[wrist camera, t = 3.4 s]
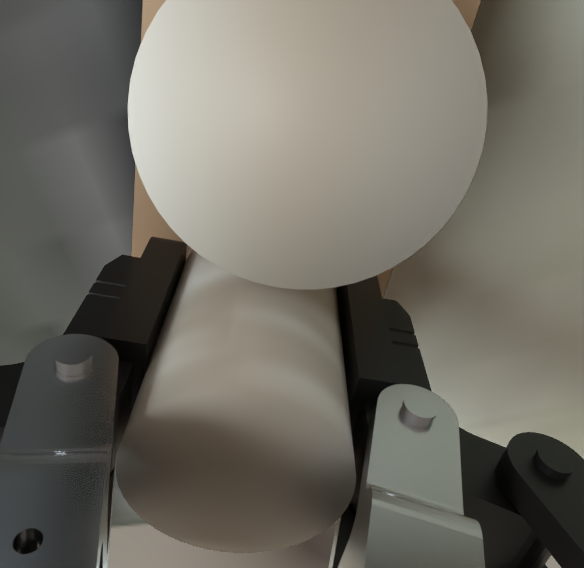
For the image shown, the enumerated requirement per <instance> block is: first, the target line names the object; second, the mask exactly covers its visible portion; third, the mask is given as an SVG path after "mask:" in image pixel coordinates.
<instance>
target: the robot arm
mask: <svg viewBox="0 0 584 568" xmlns="http://www.w3.org/2000/svg"><path fill="white" fill-rule="evenodd" d="M186 252H187V244H186V243H185V242H182V241H176V240H170V239H165V238H159V237H153V236H152V237H151V238H150V240H149V242H148V244H147V246H146V248H145V250H144V252H143V254H142V256H141V258H139V257H133V256H127V255H121V256H120V257H118V258H116V259H115V260H113V261H111V262H110V263H108V264H106V265H105V266H104V268H103V269H102V271H101V273H100V274H99V276H98V278H97V279H96V283H94V284H93V286H92V288H91V289H90V291H89V294H88V295H87V296H86V298H85V299H84V301H83V302H82V304H81V306H80V307H79V309H78V311H77V312H76V314H75V316H74V317H73V319H72V321H71V322H70V324H69V326H68V327H67V329H66V331H65V332H64V334H63V335H61V336H56V337H53V338H50V339H47V340H45V341H43V342H41V343H40V344H38V345H37V346H35V347H34V348H33V349H32V350H31V351H30V353H29V354H28V355H27V358H26V360H25V362H22V363H18V364H12V365H4V366H0V568H107V567H108V554H109V543H110V530H111V519H112V506H113V494H114V482H115V462H116V455H117V451H118V449H119V446H120V443H121V440H122V437H123V434H124V432H125V429H126V426H127V423H128V420H129V418H130V415H131V412H132V409H133V407H134V404H135V401H136V398H137V395H138V393H139V390H140V387H141V384H142V381H143V379H144V376H145V373H146V370H147V368H148V365H149V362H150V359H151V356H152V354H153V351H154V348H155V345H156V342H157V340H158V337H159V334H160V331H161V329H162V326H163V323H164V320H165V317H166V315H167V312H168V309H169V306H170V303H171V301H172V298H173V295H174V292H175V290H176V287H177V284H178V281H179V278H180V276H181V273H182V270H183V267H184V264H185V262H186ZM337 297H338V307H339V316H340V326H341V336H342V345H343V355H344V364H345V374H346V383H347V393H348V402H349V412H350V421H351V431H352V441H353V450H354V460H355V469H356V486H355V490H354V494H353V497H352V499H351V501H350V503H349V505H348V507H347V509H346V510H345V511H344V513H343V514H342V516H341V517H340V518H339V519H338V520H337V523H336V529H335V534H334V541H333V546H332V551H331V557H330V563H329V568H547V566H546V565H545V563H546V562H547V560H548V559H549V557H550V556H551V555H552V556H553V557H554V558H555V560H556V561H557V562H558V564H559V565H560V566H561V567H562V568H584V459H583V458H582V457H581V456H580V455H579V454H578V453H576V452H575V451H574V450H573V449H571V448H570V447H569V446H567V445H565V444H564V443H562V442H560V441H558V440H557V439H554V438H552V437H550V436H547V435H543V434H539V433H533V432H526V433H520V434H517V435H516V436H514V437H513V438H512V439H511V440H510V442H509V443H508V445H507V447H506V448H505V447H503V446H500V445H498V444H495V443H493V442H490V441H488V440H485V439H483V438H480V437H478V436H475V435H473V434H471V433H469V432H467V431H465V430H463V429H461V428H460V427H459V423H458V419H457V416H456V414H455V412H454V411H453V409H452V408H451V407H450V405H449V404H448V403H447V402H446V401H445V400H444V399H442V398H441V397H440V396H438V395H437V394H435V393H433V392H432V391H431V388H430V384H429V381H428V377H427V374H426V370H425V367H424V363H423V360H422V356H421V353H420V350H419V348H418V343H417V339H416V336H415V335H414V329H413V325H412V322H411V318H410V316H409V315H408V313H407V312H406V311H405V310H404V309H403V308H402V307H401V305H400V304H399V303H398V302H397V301H394V300H388V299H382V295H381V290H380V286H379V281H378V277H377V275H376V276H374V277H371V278H368V279H365V280H362V281H359V282H356V283H352V284H348V285H343V286H339V287H337Z"/></svg>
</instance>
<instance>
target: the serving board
mask: <svg viewBox="0 0 584 568" xmlns="http://www.w3.org/2000/svg"><path fill="white" fill-rule="evenodd" d="M480 2H481V0H143V11H142V33H141V45H140V48H139V51H138V53H137V56H136V59H135V63H134V67H133V71H132V76H131V80H130V88H129V98H128V129H129V135H130V141H131V147H132V153H133V156H134V159H135V163H136V168H135V190H134V213H133V235H132V256H133V257H139V258H141V256H142V254H143V252H144V250H145V248H146V246H147V244H148V242H149V240H150V238H151V237H152V236H153V237H159V238H165V239H170V240H176V241H182V242H185V243H186V244H187V252H186V262H185V264H184V267H183V270H182V273H181V276H180V278H179V281H178V284H177V287H176V290H175V292H174V295H173V298H172V301H171V303H170V306H169V309H168V312H167V315H166V317H165V320H164V323H163V326H162V329H161V331H160V334H159V337H158V340H157V342H156V345H155V348H154V351H153V354H152V356H151V359H150V362H149V365H148V368H147V370H146V373H145V376H144V379H143V381H142V384H141V387H140V390H139V393H138V395H137V398H136V401H135V404H134V407H133V409H132V412H131V415H130V418H129V420H128V423H127V426H126V429H125V432H124V434H123V437H122V440H121V443H120V446H119V449H118V451H117V455H116V462H115V469H116V478H117V482H118V485H119V488H120V490H121V492H122V494H123V496H124V498H125V499H126V501H127V502H128V504H129V505H130V506H131V508H132V509H133V510H134V511H135V512H136V513H137V514H138V515H139V516H140V517H141V518H142V519H143V520H145V521H146V522H147V523H148V524H150V525H151V526H153V527H154V528H155V529H157V530H159V531H161V532H162V533H164V534H166V535H168V536H170V537H172V538H174V539H177V540H179V541H181V542H184V543H187V544H190V545H193V546H196V547H200V548H204V549H209V550H216V551H221V552H233V553H254V552H265V551H272V550H278V549H282V548H286V547H290V546H293V545H296V544H299V543H302V542H304V541H306V540H309V539H311V538H313V537H315V536H316V535H318V534H320V533H321V532H323V531H325V530H326V529H327V528H329V527H330V526H331V525H332V524H333V523H335V522H336V521H337V520H338V519H339V518H340V517H341V516H342V514H343V513H344V511H345V510H346V509H347V507H348V505H349V503H350V501H351V499H352V497H353V494H354V490H355V486H356V469H355V460H354V450H353V441H352V431H351V421H350V412H349V402H348V393H347V383H346V374H345V364H344V355H343V345H342V336H341V326H340V316H339V307H338V297H337V287H339V286H343V285H348V284H352V283H356V282H359V281H362V280H365V279H368V278H371V277H374V276H376V275H377V277H378V281H379V286H380V290H381V295H382V299H383V297H384V294H385V291H386V288H387V285H388V282H389V279H390V276H391V273H392V270H393V267H394V266H396V265H397V264H399V263H401V262H402V261H404V260H405V259H407V258H409V257H410V256H412V255H413V254H414V253H415V252H417V251H418V250H419V249H420V248H422V247H423V246H424V245H425V244H427V243H428V242H429V241H430V240H431V239H432V238H433V237H434V236H435V235H436V234H437V233H438V232H439V231H440V230H441V229H442V227H443V226H444V225H445V224H446V222H447V221H448V220H449V219H450V217H451V216H452V215H453V213H454V212H455V211H456V209H457V207H458V206H459V204H460V203H461V201H462V199H463V198H464V196H465V194H466V193H467V191H468V188H469V186H470V184H471V182H472V179H473V177H474V175H475V173H476V170H477V167H478V164H479V160H480V157H481V154H482V151H483V145H484V140H485V134H486V128H487V107H488V101H487V90H486V80H485V75H484V70H483V66H482V62H481V58H480V54H479V51H478V49H477V46H476V44H475V41H474V38H473V36H472V33H471V29H472V26H473V23H474V20H475V17H476V14H477V11H478V8H479V5H480Z"/></svg>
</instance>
